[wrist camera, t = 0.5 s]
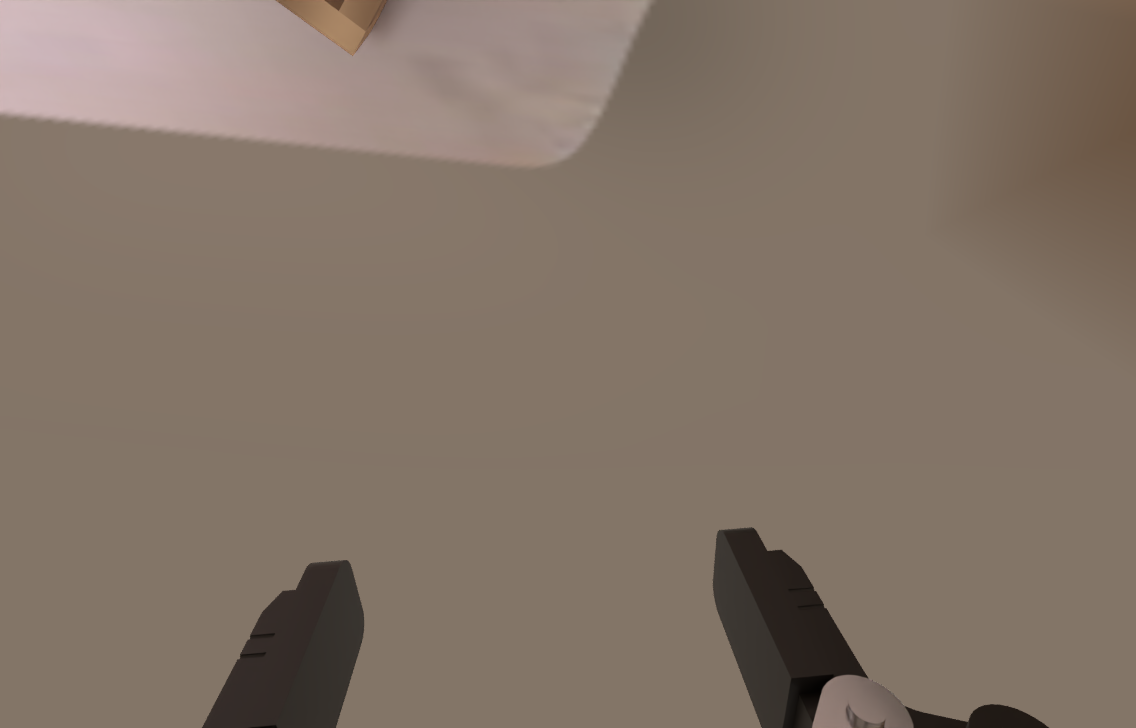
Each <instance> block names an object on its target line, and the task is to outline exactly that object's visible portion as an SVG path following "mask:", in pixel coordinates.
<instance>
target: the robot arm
mask: <svg viewBox="0 0 1136 728" xmlns="http://www.w3.org/2000/svg"><path fill="white" fill-rule="evenodd" d="M713 591H714V598H715V603H716V607H717V611H718V614H719V616H720V619H721V621H722V624H723V627H724V629H725V632H726V635H727V637H728V640H729V642H730V645H731V648H732V650H733V653H734V656H735V658H736V661H737V664H738V666H739V669H740V672H741V674H742V677H743V680H744V682H745V685H746V687H747V690H748V693H749V695H750V698H751V701H752V703H753V706H754V708H755V711H756V714H757V716H758V719H759V722H760V724H761V727H762V728H1049V727H1047V726H1046V725H1045V724H1043V723H1042V722H1040V721H1039V720H1037V719H1036V718H1034V717H1032V716H1030V715H1028V714H1027V713H1024V712H1022V711H1020V710H1018V709H1015V708H1012V707H1008V706H1003V705H994V704H990V705H984V706H981V707H979V708H977V709H976V710H974V711H973V713H972V714H971V716H970V718H969V721H968V722H965V721H960V720H956V719H951V718H946V717H942V716H937V715H932V714H928V713H923V712H919V711H916V710H913V709H911V708H908V707H906V706H904V705H903V704H902V702H901V701H900V700H899V699H898V698H897V697H896V696H895V695H894V694H893V693H892V692H891V691H889V690H888V689H887V688H885V687H884V686H882V685H880V684H879V683H877V682H875V681H873V680H870V679H869V678H868V677H867V675H866V674H865V672H864V671H863V669H862V667H861V666H860V664H859V662H858V661H857V659H856V658H855V656H854V654H853V652H852V651H851V649H850V647H849V646H848V644H847V642H846V641H845V639H844V637H843V636H842V634H841V633H840V631H839V629H838V628H837V625H836V624H835V622H834V620H833V619H832V617H831V615H830V614H829V612H828V610H827V609H826V608H824V604H823V602H822V600H821V599H820V597H819V595H818V594H817V592H816V591H814V587H813V585H812V584H811V582H810V580H809V579H808V577H807V575H806V574H805V572H804V570H803V569H802V567H801V566H800V565H799V564H797V563H796V562H795V561H794V560H792V558H790V557H789V556H788V555H787V554H786V553H785V552H783V551H782V550H775V551H767V550H766V548H765V546H764V544H763V542H762V540H761V538H760V537H759V535H758V533H757V531H756V530H755V529H754V528H752V527H751V528H740V529H728V530H719V531H718V533H717V538H716V551H715V564H714V577H713ZM363 633H364V613H363V609H362V605H361V601H360V597H359V594H358V590H357V586H356V582H355V579H354V575H353V571H352V568H351V565H350V563H349V561H347V560H342V561H331V562H330V561H329V562H317V563H311V564H309V565H308V566H307V568H306V570H305V572H304V574H303V576H302V578H301V580H300V582H299V584H298V586H297V588H296V590H289V591H282V593H280V594H279V596H278V597H277V598H276V599H275V600H274V601H273V602H272V603H271V604H270V605H269V606H268V607H267V608H266V609H265V610H264V611H263V612H262V614H261V616H260V617H259V619H258V621H257V623H256V625H255V627H254V629H253V631H252V633H251V635H250V640H248V641H247V642H246V644H245V646H244V648H243V650H242V652H241V654H240V659H239V660H237V662H236V664H235V666H234V667H233V669H232V671H231V673H230V675H229V677H228V679H227V681H226V683H225V685H224V687H223V689H222V691H221V693H220V694H219V696H218V698H217V700H216V702H215V704H214V706H213V708H212V710H211V712H210V714H209V716H208V717H207V720H206V721H205V723H204V725H203V727H202V728H336V725H337V722H338V719H339V715H340V712H341V709H342V705H343V702H344V699H345V696H346V693H347V689H348V686H349V683H350V679H351V676H352V673H353V669H354V666H355V663H356V659H357V656H358V653H359V650H360V646H361V643H362V639H363Z"/></svg>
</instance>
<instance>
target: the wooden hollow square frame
mask: <svg viewBox="0 0 1136 728" xmlns="http://www.w3.org/2000/svg"><path fill="white" fill-rule="evenodd" d="M276 1H277V2H279V3H280V4H282V5H283V6H284V7H286V8H287V9H288V10H290V11H291V12H293V13H294V14H295V15H297V16H298V17H300V18H301V19H302V20H304V21H305V22H306V23H308V24H309V25H311V26H312V27H313V28H315V29H316V30H318V31H319V32H320V33H322V34H323V35H325V36H326V37H327V38H329V39H330V40H331V41H333V42H334V43H336V44H337V45H338V46H340V47H341V48H343V49H344V50H345V51H347V52H348V53H349V54H351V55H352V56H353V55H354V54H355V52H356V51H357V50H358V48H359V47H360V46H361V44H362V43H363V42H364V40H365V39H366V37H367V36H368V35H369V33H370V32H371V30H372V28H373V26H374V25H375V23H376V21H377V19H378V17H379V15H380V13H381V11H382V9H383V8H384V6H385V4H386V2H387V0H276Z"/></svg>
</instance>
